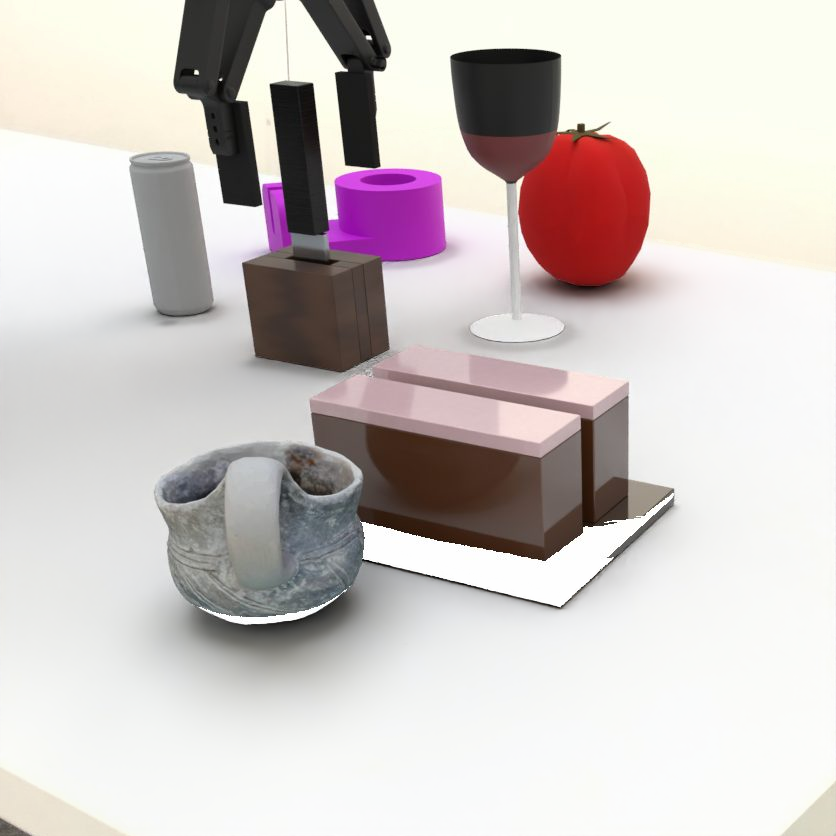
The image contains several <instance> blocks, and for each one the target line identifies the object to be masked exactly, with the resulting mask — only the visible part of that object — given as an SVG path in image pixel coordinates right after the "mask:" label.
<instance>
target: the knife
mask: <svg viewBox="0 0 836 836" xmlns="http://www.w3.org/2000/svg"><path fill="white" fill-rule="evenodd" d="M314 85H315V84H314V82H309V81H298V80H297V81H296V80H287V79H286V80H280V81H276V82H272V83H271V82H270V83H269V93H270V100H271V101H270V102H271V108H272V117H273V124H274V131H275V139H276V140H275V141H276V148H277V157H278V163H279V171H280V172H279V173H280V180H281V181H280V182H282V189H283V197H284V205H285V213H286V221H287V229H288V232H290V233H291V240H292V248H293V256H294V260H296V261H303V262H310V263H316V264H323V265H331V260H330V251H329V242H328V234H327V233H324V232H327V231H329V221H328V220H329V214H328V204H327V195H326V186H325V185H326V184H325V177H324V168H323V159H322V149H321V141H320V140H321V139H320V131H319V123H318V122H319V121H318V113H317V103H316V95H315V94H316V93H315V86H314Z"/></svg>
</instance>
